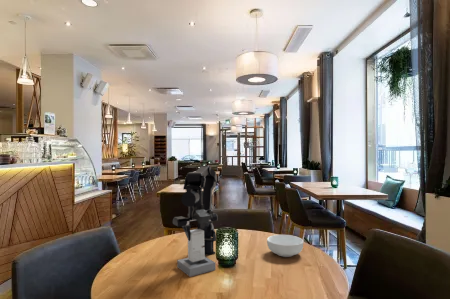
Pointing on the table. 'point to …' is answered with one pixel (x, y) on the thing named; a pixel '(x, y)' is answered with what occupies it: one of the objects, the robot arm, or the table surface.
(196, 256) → the skincare box
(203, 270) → the ceramic holder
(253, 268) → the table surface
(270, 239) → the cereal bowl
